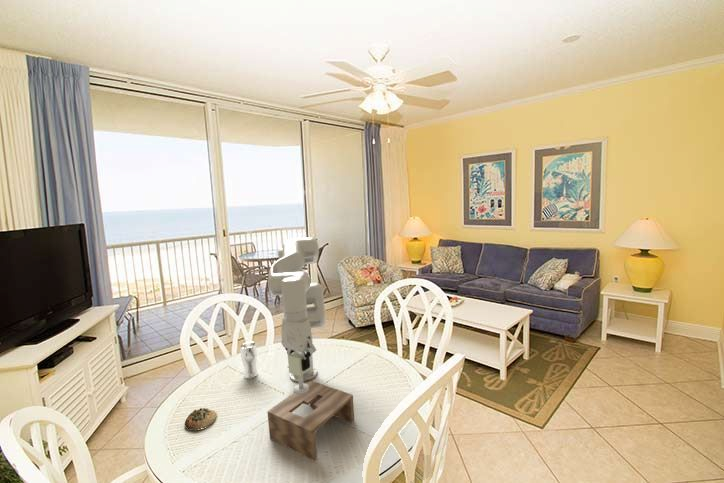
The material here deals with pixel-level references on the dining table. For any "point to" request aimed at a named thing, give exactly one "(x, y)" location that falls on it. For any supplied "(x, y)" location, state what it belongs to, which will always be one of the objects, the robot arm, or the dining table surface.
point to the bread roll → (200, 419)
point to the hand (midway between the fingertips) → (299, 366)
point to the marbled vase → (249, 359)
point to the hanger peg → (298, 371)
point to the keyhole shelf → (308, 417)
